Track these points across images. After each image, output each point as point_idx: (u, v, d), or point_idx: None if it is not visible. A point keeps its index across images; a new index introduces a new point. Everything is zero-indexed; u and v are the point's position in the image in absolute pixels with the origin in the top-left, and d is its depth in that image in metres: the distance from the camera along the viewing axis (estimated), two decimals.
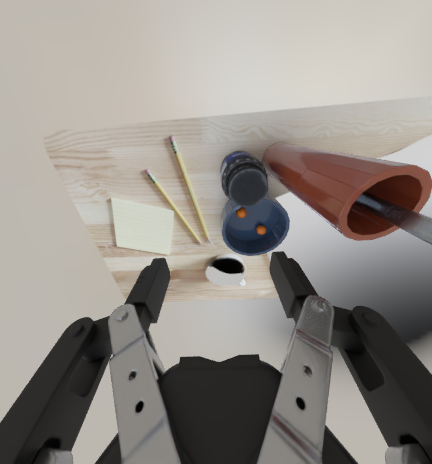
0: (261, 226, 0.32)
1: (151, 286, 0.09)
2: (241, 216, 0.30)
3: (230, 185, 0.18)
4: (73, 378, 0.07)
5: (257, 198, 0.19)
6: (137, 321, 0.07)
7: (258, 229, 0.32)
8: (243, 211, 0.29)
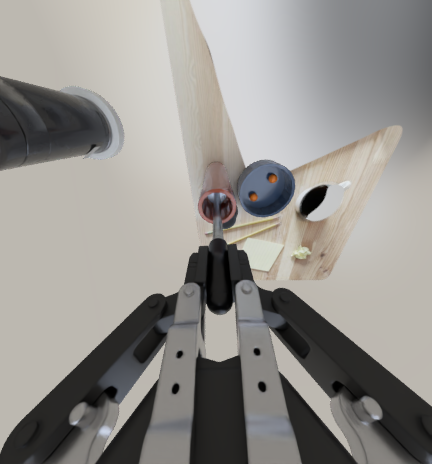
0: (269, 179, 0.36)
1: (206, 269, 0.10)
2: (255, 198, 0.38)
3: None
4: None
5: None
6: (198, 304, 0.08)
7: (271, 182, 0.36)
8: (251, 196, 0.38)
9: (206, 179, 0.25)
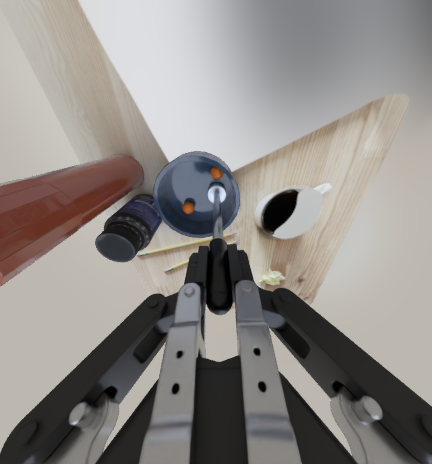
0: (214, 169, 0.22)
1: (206, 269, 0.10)
2: (189, 210, 0.25)
3: (118, 261, 0.20)
4: None
5: (121, 240, 0.18)
6: (198, 304, 0.08)
7: (219, 172, 0.22)
8: (183, 207, 0.25)
9: None
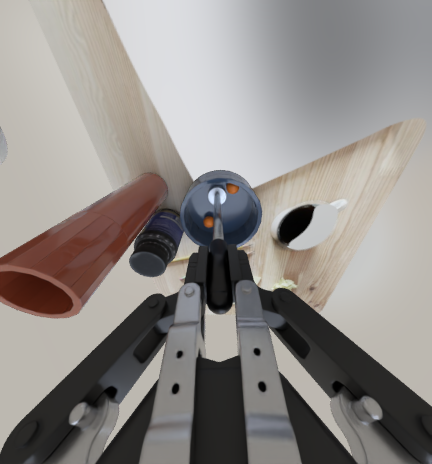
0: (232, 184, 0.23)
1: (206, 269, 0.10)
2: (210, 224, 0.27)
3: (148, 276, 0.21)
4: None
5: (154, 258, 0.19)
6: (198, 304, 0.08)
7: (235, 189, 0.23)
8: (205, 222, 0.27)
9: None
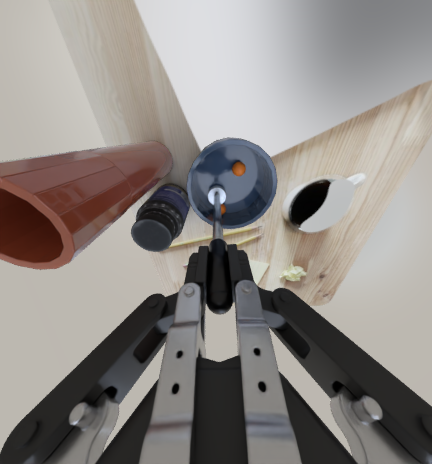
0: (235, 174, 0.23)
1: (206, 269, 0.10)
2: None
3: (151, 250, 0.19)
4: None
5: (159, 227, 0.17)
6: (198, 304, 0.08)
7: None
8: None
9: None
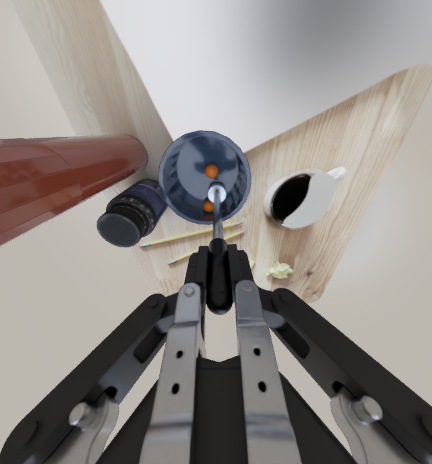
0: None
1: (206, 269, 0.10)
2: None
3: (121, 246, 0.19)
4: None
5: (124, 222, 0.17)
6: (198, 304, 0.08)
7: None
8: None
9: None
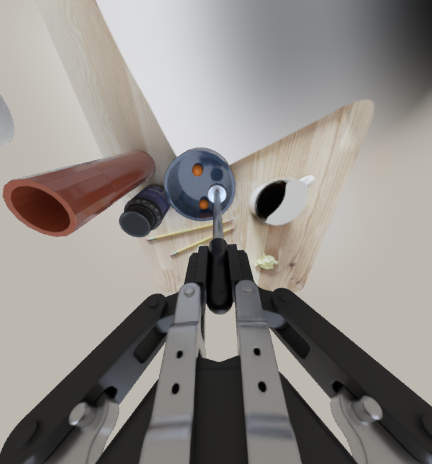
0: (197, 175, 0.28)
1: (206, 269, 0.10)
2: None
3: (135, 236, 0.25)
4: None
5: (140, 218, 0.23)
6: (198, 304, 0.08)
7: (201, 172, 0.28)
8: (199, 202, 0.32)
9: None
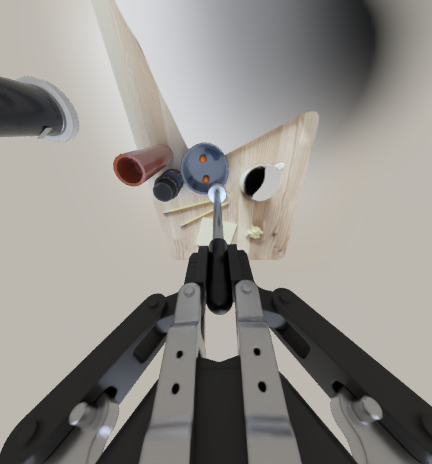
0: (202, 163, 0.41)
1: (206, 269, 0.10)
2: (203, 182, 0.44)
3: (162, 200, 0.38)
4: None
5: (166, 187, 0.36)
6: (198, 304, 0.08)
7: (205, 161, 0.41)
8: None
9: None
